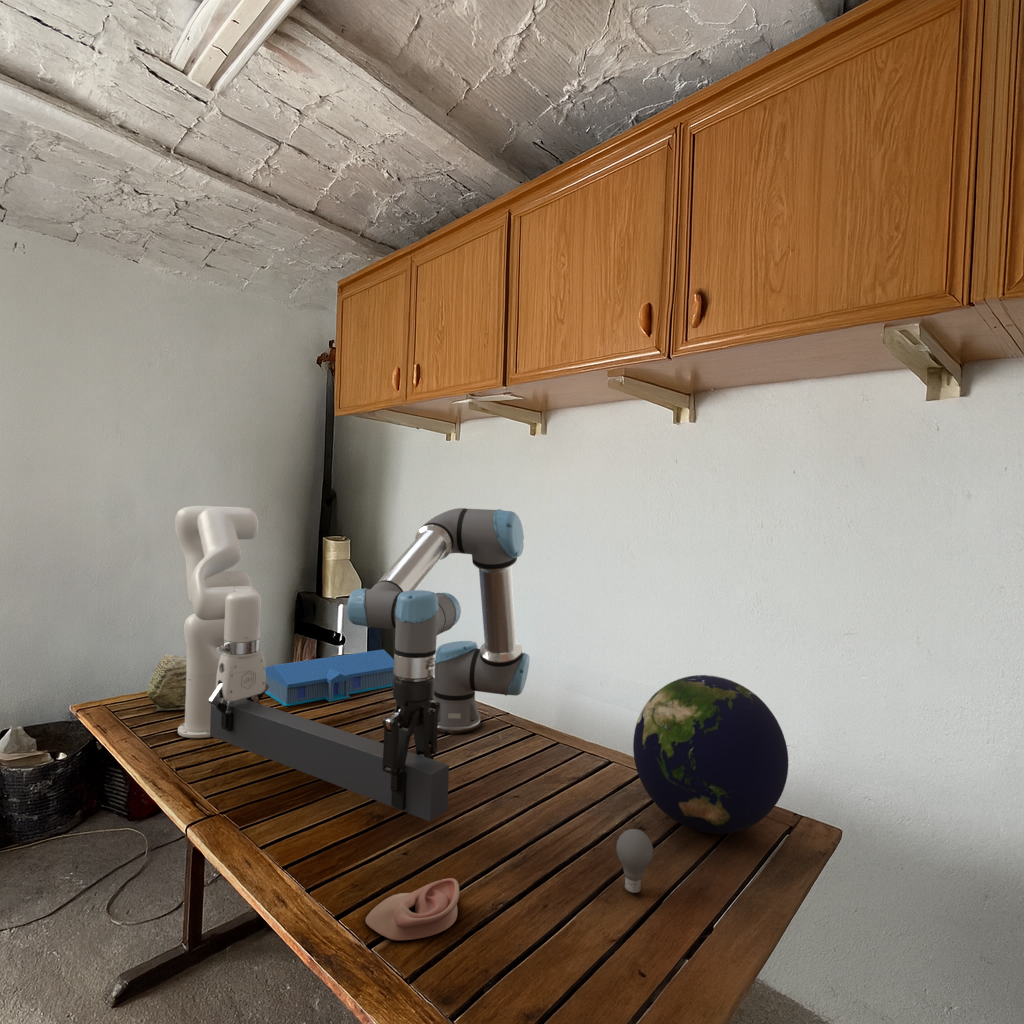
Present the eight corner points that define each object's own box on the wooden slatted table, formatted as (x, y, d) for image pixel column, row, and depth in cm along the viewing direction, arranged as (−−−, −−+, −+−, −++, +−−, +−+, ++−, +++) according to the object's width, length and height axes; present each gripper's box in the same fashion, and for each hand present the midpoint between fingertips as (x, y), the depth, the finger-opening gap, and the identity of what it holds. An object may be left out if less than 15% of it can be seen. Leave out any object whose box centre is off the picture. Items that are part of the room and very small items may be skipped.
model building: (289, 709, 186) (291, 675, 185) (258, 688, 204) (259, 657, 204) (403, 687, 212) (405, 657, 212) (366, 670, 230) (368, 643, 230)
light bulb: (610, 879, 108) (613, 822, 108) (644, 879, 109) (647, 822, 109) (619, 902, 102) (622, 840, 102) (655, 901, 103) (658, 840, 103)
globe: (615, 841, 121) (622, 685, 120) (644, 780, 148) (650, 652, 148) (786, 884, 109) (795, 711, 109) (782, 808, 137) (789, 671, 136)
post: (209, 736, 145) (210, 699, 145) (229, 729, 149) (230, 694, 149) (430, 821, 111) (431, 774, 111) (447, 810, 115) (449, 764, 115)
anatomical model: (357, 906, 92) (388, 863, 104) (356, 933, 92) (387, 887, 104) (444, 922, 90) (466, 876, 101) (443, 950, 90) (465, 901, 101)
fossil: (144, 707, 182) (145, 655, 182) (212, 696, 194) (213, 647, 194) (151, 716, 175) (153, 662, 175) (221, 703, 188) (223, 653, 188)
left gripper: (217, 657, 134) (213, 741, 134) (284, 642, 148) (280, 719, 149) (196, 650, 138) (193, 733, 138) (263, 637, 152) (260, 712, 153)
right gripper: (396, 691, 106) (390, 828, 107) (460, 669, 122) (454, 788, 122) (363, 683, 110) (358, 814, 111) (429, 662, 126) (424, 778, 126)
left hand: (238, 725), depth 144 cm, fingers closed on post, 5 cm apart
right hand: (408, 800), depth 117 cm, fingers closed on post, 5 cm apart
